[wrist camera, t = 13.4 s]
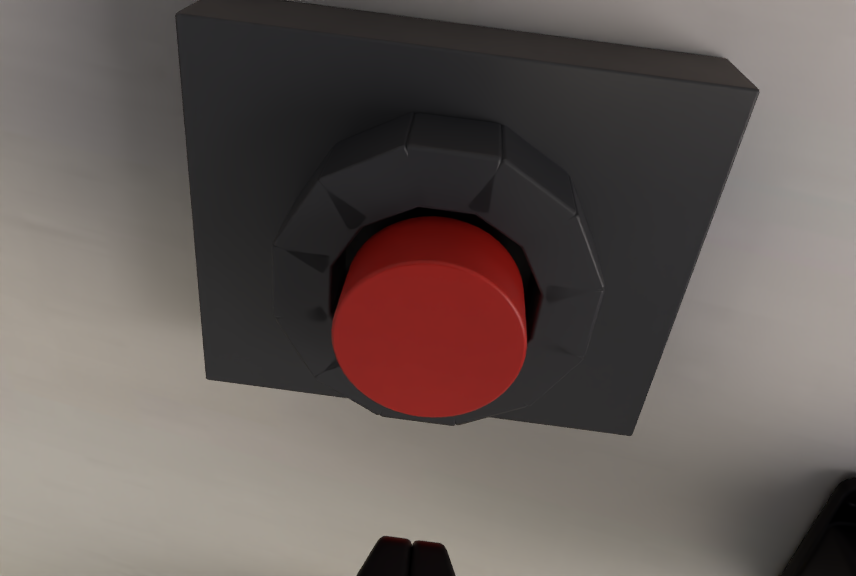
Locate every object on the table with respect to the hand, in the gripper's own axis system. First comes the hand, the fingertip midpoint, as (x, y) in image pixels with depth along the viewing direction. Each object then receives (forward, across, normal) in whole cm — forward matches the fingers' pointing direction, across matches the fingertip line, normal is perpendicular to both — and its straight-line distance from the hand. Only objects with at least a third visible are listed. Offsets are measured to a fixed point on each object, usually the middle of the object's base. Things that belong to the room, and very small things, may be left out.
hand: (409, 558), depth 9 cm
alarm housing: (+10, 0, 0) cm, 10 cm away
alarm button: (+6, 0, 0) cm, 6 cm away
